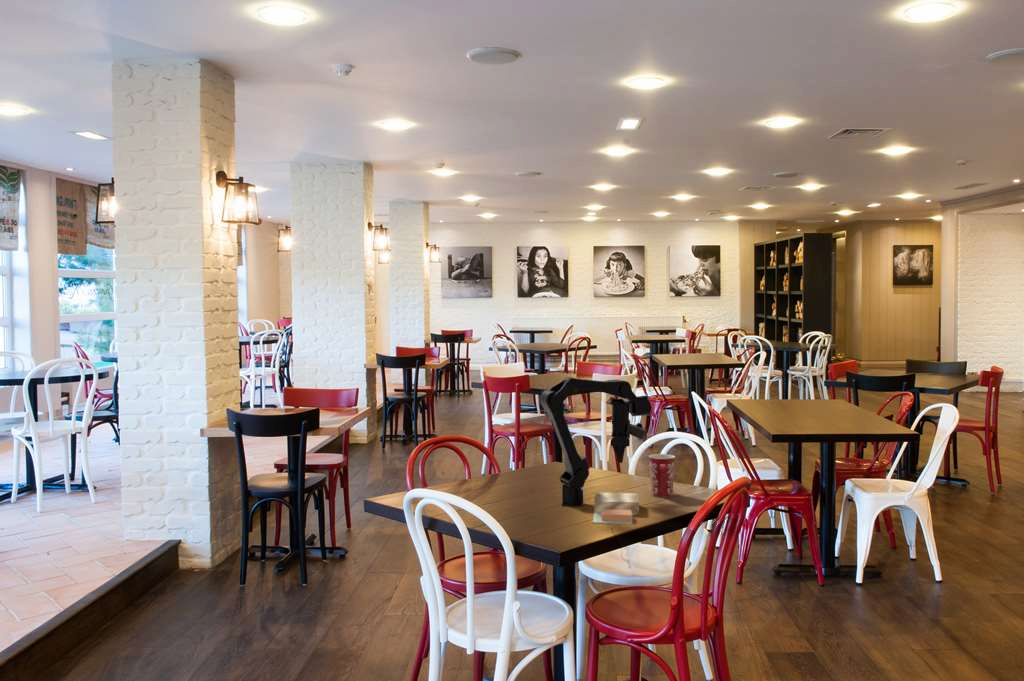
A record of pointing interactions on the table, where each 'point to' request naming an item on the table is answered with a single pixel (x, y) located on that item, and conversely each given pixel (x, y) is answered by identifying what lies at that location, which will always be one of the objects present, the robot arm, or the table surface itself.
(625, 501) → the deck
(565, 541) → the table surface
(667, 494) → the mug
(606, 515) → the flat rectangular block
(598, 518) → the mat
